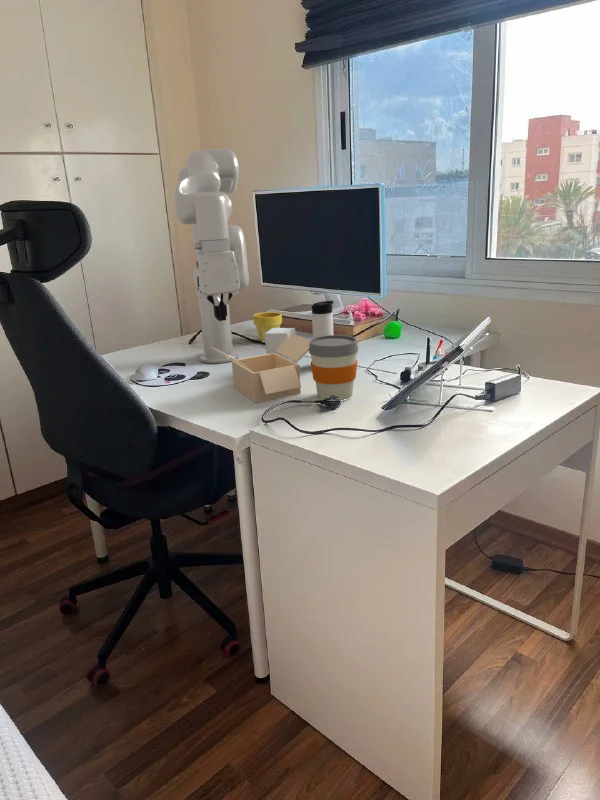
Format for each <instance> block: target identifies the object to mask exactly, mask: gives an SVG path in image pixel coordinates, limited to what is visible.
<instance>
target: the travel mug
mask: <svg viewBox="0 0 600 800" xmlns="http://www.w3.org/2000/svg"><path fill="white" fill-rule="evenodd" d="M333 304H334V300H324V301H318V302H315V303H313V304H312V305H311V323H312V324H311V326H312V328H311V329H312V339H313V338H316V337H320V336H327V335H334V316H333V315H334V312H333Z"/></svg>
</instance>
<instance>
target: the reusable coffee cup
mask: <svg viewBox="0 0 600 800" xmlns="http://www.w3.org/2000/svg"><path fill="white" fill-rule="evenodd" d="M309 340H310V345H309V351H308V353H309V355H310V357H311V361H310V368H311V373H312V379H313V381H314V382H315V386H316V392H317V399H318V400H320V401H323V399H325V398H328V397H329V396H331V395H337V396H339V397H340V399H341V400H344V399H348V398H350V397H351V396H352V397H353V393H354V382H355V380H356V378H357V370H358V360H357V354H358V351H359V346H358V339H357V337H354V336H352V335H346V334H345V335H344V334H333V335H327V336H320V337H316V338H313V337H312V339H309ZM350 399H351V398H350ZM348 400H349V399H348Z"/></svg>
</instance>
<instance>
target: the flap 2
mask: <svg viewBox="0 0 600 800" xmlns="http://www.w3.org/2000/svg"><path fill="white" fill-rule="evenodd" d="M310 340H311V339H307V338H305V337H303V336H300V335H297V334H296V333H295V334H293V333H292V334H291V335H290V336H289V337H288V338H287V339H286V340H285V341H284V342H283V343H282V344H281V345H280V346H279V347H278V348H277V350H276V352H278V353H280V354H282V355H285V356H287V357H289V358H291V359H293V360H295V361H297V363H298V362H299V361H300V360H301V359H302V358H303V357H304V356H306V354H307V353H309V345H310Z"/></svg>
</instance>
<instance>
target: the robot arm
mask: <svg viewBox="0 0 600 800" xmlns="http://www.w3.org/2000/svg"><path fill="white" fill-rule="evenodd" d="M239 174H240V164H239V160H238V157H237V155H236V154H235V152H234V151H233V150H231V149H228V148H218V149H217V148H215V149H214V148H213V149H211V148H210V149H199V150H195V151H193V152H191V153H190V154H189V155H188V157H187V159H186V166H185V167H183V168H181V169H180V170H179V171H178V175H177V176H178V177H177V181H178V182H177V183H176V185H175V188H174V190H173V191H174V192H173V205H174V214H175V216H176V219H177V220H178V221H179V223H181V224H182V225H187V226H188V225H191V227H192V228H191V229H192V236H193V245H192V247H193V250H195V252H196V262H195V265H196V266H195V267H194V268H193V272H192V276H193V282H194V285H195V286H194V287H195V290H196V294H197V300H198V301H197V302H198V306H199V315H200V323H201V334H202V342H203V343H202V344H203V354H201V355H200V356H199V358H200V359H199V360H200V362H202V363H205V364H223V363H229V362H232V361H233V360H231V359H229V358H227V357H226V356H224V355H222V354H221V353H219V352H217V351H216V350H214V349H212V348H211V347H214V348H216V349H217V350H219V351H221V352H223V353H225V354H227V355H228V356H230V357H232V358H234V359H239V353H238V352H237V351H234V346H233V335H232V324H231V314H230V305H229V301H230V300H231V299H232V298H233V297H235V296H237V295H240V291H242V290H245V289H247V288H248V286H249V283H250V273H249V266H248V265H249V263H248V255H247V245H246V238H245V237H246V236H245V234H244V233H245V232H244V230H243V229H242V228H241V227H240V226H239V225H237V224H229V223H228V221H229V219H230V218H231V216H232V215H233V204H232V203H233V202H232V200H231V198H230V197H229V196H228V195H229V194H233V193H235V192H236V190H237V188H238V182H239V176H240V175H239Z"/></svg>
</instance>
